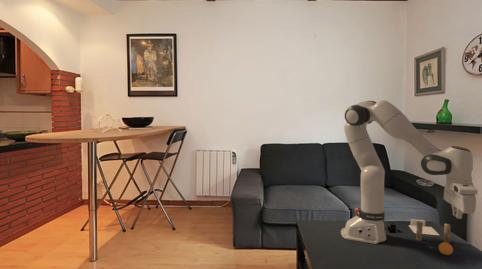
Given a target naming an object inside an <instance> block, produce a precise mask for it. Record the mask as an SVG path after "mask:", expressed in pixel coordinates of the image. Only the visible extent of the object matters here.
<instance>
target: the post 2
mask: <svg viewBox="0 0 482 269" xmlns="http://www.w3.org/2000/svg"><path fill="white" fill-rule="evenodd" d="M451 226H452V225H451V224H450V223H444V224H443V228H444V229H443V242H445V243H449V244H450V243H451V228H452V227H451Z"/></svg>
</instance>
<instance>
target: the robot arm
mask: <svg viewBox="0 0 482 269" xmlns="http://www.w3.org/2000/svg"><path fill="white" fill-rule="evenodd" d="M344 120H345V121H346V123H345V124H344V127H343V129H344V134H345V137H346V141H347V144H348V145H349V148H350V151H351V153H352V155H353V156H352V157H353V158H354V159H355V161H356V163H357V165H358V167H359V169H360V171H361V172H360V208H359V207H355V209H354V211H355V213H356V215H355V216H353V217H352V218H350V219H348V220H347V221H346V223H345V227H343V228H341V230H340V234H341V237H342V238H344V239H345V240H349V241H355V242H362V243H367V244H368V243H369V244H373V245H377V244H379V243H382V242H385V241H386V240H387V236H386V235H387V234H386V231H385V230H386V229H385V228H384V227H385V221H386V220H385V219H386V216H385V215H386V214H385V210H384V209H385V174H386V171H385V168H384V166H383V163H382V161H381V158H379V156H378V153H377V151H376V149H375V147H374V144H373V142H372V140H371V137H370V135H369V131H368V129H367V125H370V124H371V123H373V122H376V123H377V124H378V125H379V126H380V128H382V130H383V131H384V132H386V133H387V134H388V135H389V136H391V137H393V138H395V139H397V140H401V141H404V142H406V143H408V144H410V145H411V146H412V147H413V148H414V149H415V150H416V151H417V152H418V153H419V154H420V155H421V156H423V157H422V159H421V161H420V168H421V170H423V172H425V173H426V174H428V175H431V176H444V175H445V176H446V177H445V180H446V181H445V185H444V190H443V201H446V202H447V203H448V204H450V205H451V209H452V216H454V217H455V218H456V219H458V220H459V219H460V220H461V219H462V218H463V214H469V215H470V214H471V215H472V214H474V213H475V211H476V206H477V205H476V204H477V196H476V195H478V192H479V191H478V189H477V187H475V184H474V183H473V176H472V173H473V170H474V159H473V158H474V157H473V154H472V151H471V150H470V149H468V148H466V147H461V146H456V145H451V146H449V147H447V148H445V149H439V148H437V147H436V146H434V145H433V144H432V143H431V142H430V141H429V140H428V139H427V138H425V137H424V135H423V134H421V133H420V132H419V131H418V130H417V128H416V126H414V125H413V123H412V122H411V120H409V119H408V117H407V116H406V114H404V113H403V112H402V111H401V110H400V109H399V108H398V107H397V106H395V105H394V104H392V103H391V102H389V101H388V100H385V99H383V100H379V101H377V102H376V101H374V100H365V101H361V102H358V103H356V104H352V105H350V106H349V107H348V108H346V110H345V112H344Z"/></svg>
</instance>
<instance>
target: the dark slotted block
mask: <svg viewBox="0 0 482 269" xmlns="http://www.w3.org/2000/svg"><path fill="white" fill-rule="evenodd" d="M384 230H386V231H388V232H389V234H399V232H398V230H397V226H396V223H394V222H391V221H388V222H387V227H385V226H384Z"/></svg>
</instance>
